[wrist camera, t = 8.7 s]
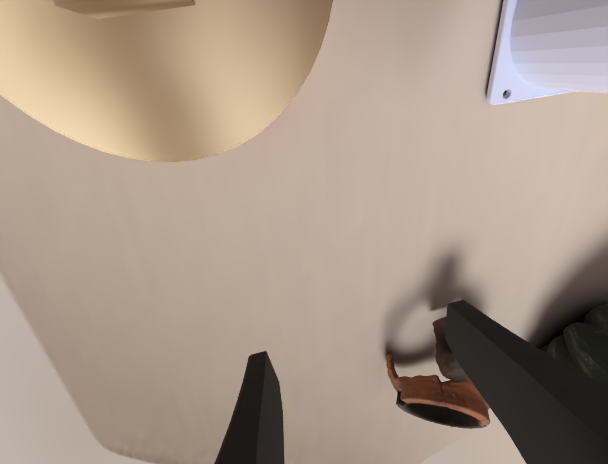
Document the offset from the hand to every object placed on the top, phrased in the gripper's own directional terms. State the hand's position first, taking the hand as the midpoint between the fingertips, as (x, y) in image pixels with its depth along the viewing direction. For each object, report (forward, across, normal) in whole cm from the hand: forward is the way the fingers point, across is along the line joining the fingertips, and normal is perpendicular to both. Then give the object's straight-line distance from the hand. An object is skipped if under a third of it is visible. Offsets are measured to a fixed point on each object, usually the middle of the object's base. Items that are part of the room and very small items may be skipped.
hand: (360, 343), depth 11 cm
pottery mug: (+10, -9, +16) cm, 21 cm away
